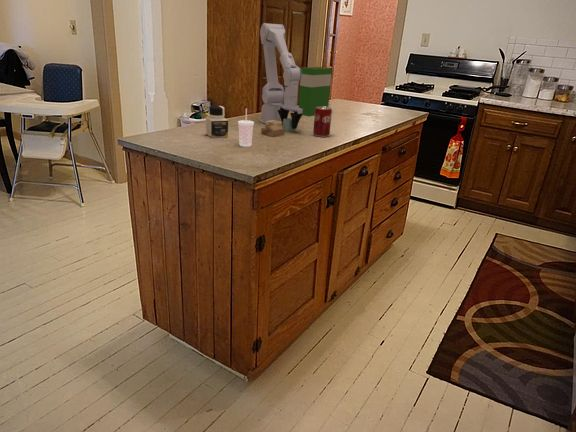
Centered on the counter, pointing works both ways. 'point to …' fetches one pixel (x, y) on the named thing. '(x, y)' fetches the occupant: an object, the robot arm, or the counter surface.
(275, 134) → the walnut slab
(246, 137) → the beverage cup
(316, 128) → the soda can
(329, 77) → the hardback book
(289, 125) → the teal block
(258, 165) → the counter surface
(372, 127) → the counter surface
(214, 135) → the medicine bottle
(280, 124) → the maple cube
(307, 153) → the counter surface
